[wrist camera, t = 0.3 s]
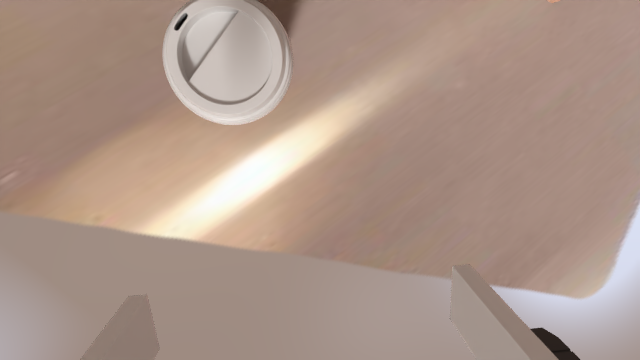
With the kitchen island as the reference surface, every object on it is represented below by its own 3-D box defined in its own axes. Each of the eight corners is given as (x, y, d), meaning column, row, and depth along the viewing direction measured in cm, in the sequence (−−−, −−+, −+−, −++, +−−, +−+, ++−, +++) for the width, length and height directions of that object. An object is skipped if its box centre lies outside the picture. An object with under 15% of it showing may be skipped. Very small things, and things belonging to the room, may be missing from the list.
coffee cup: (259, 12, 38) (247, -47, 23) (303, 91, 40) (318, 84, 26) (182, 56, 38) (123, 26, 23) (231, 134, 40) (205, 150, 26)
